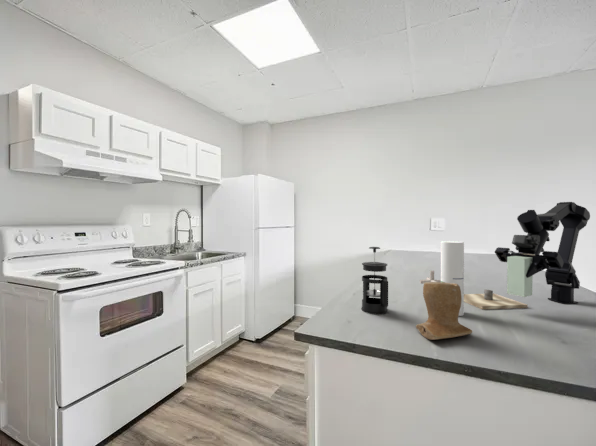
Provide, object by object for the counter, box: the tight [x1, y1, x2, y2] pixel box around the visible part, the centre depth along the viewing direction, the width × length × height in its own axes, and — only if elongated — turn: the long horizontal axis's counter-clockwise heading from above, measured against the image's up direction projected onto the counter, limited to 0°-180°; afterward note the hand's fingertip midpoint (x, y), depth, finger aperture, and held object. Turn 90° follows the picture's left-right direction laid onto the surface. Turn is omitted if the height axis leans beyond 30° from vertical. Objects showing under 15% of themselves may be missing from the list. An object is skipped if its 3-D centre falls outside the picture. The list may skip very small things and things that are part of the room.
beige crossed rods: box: [419, 269, 441, 285], centre depth 126 cm, size 10×10×10 cm
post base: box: [464, 289, 528, 310], centre depth 112 cm, size 18×16×5 cm
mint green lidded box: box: [506, 256, 534, 298], centre depth 98 cm, size 5×5×13 cm
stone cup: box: [415, 282, 473, 341], centre depth 81 cm, size 15×12×15 cm
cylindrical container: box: [440, 240, 465, 317], centre depth 99 cm, size 7×7×25 cm
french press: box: [361, 246, 389, 315], centre depth 102 cm, size 12×9×23 cm
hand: (517, 275), depth 98 cm, fingers closed on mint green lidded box, 5 cm apart
